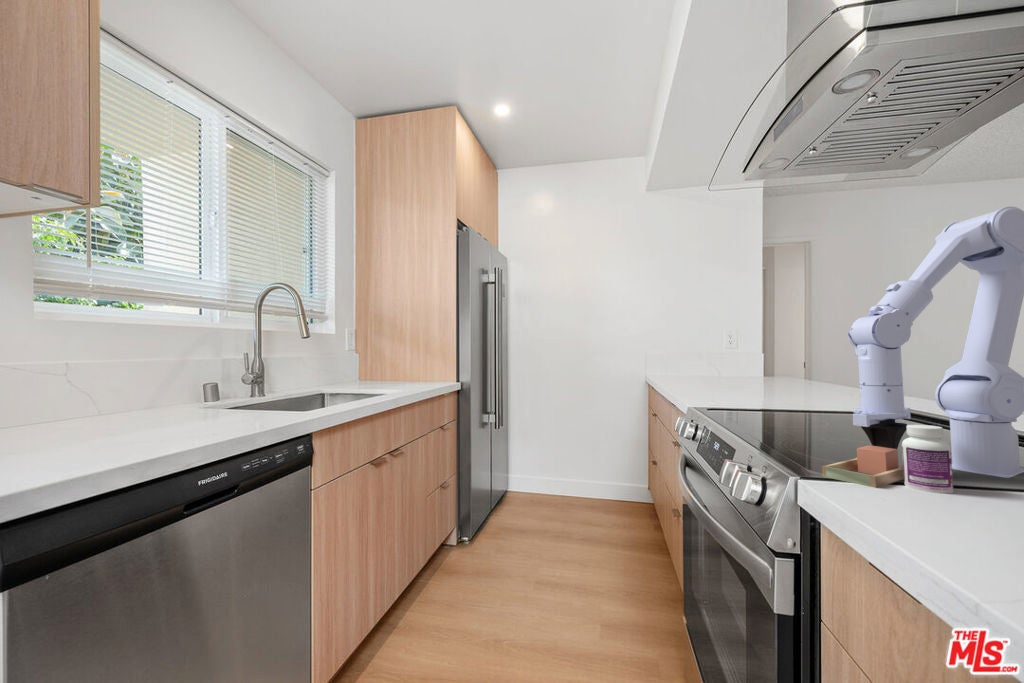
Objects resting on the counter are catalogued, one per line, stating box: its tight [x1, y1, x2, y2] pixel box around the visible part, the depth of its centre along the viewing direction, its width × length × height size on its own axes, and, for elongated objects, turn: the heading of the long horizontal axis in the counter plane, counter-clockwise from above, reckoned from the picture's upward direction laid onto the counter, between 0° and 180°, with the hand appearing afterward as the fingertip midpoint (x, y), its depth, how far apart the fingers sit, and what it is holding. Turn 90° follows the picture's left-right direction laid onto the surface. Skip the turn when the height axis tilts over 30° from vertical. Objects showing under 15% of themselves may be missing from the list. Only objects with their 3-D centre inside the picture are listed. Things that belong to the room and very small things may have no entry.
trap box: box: [821, 457, 904, 489], centre depth 72 cm, size 16×7×2 cm, turn 117°
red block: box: [856, 444, 900, 475], centre depth 73 cm, size 4×4×4 cm
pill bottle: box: [901, 424, 954, 494], centre depth 65 cm, size 5×5×10 cm
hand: (885, 464), depth 74 cm, fingers closed, pressing on red block
